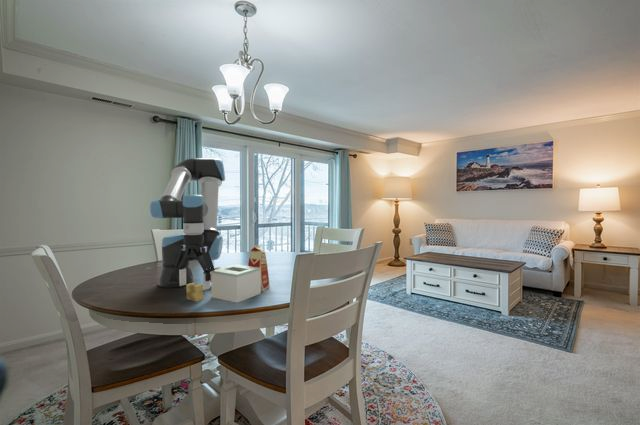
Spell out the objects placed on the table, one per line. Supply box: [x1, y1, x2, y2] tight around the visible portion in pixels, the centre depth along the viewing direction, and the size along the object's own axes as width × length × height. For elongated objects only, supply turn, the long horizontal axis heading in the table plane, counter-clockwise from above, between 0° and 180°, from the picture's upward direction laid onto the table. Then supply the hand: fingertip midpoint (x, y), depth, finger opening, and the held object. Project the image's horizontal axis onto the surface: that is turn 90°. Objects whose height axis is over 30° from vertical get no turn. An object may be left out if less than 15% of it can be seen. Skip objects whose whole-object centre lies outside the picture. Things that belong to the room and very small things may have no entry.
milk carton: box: [247, 244, 271, 292], centre depth 149 cm, size 9×9×20 cm
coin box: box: [210, 263, 262, 303], centre depth 138 cm, size 14×14×11 cm
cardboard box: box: [185, 282, 204, 302], centre depth 133 cm, size 6×3×6 cm, turn 61°
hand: (194, 287), depth 133 cm, fingers open, 13 cm apart
